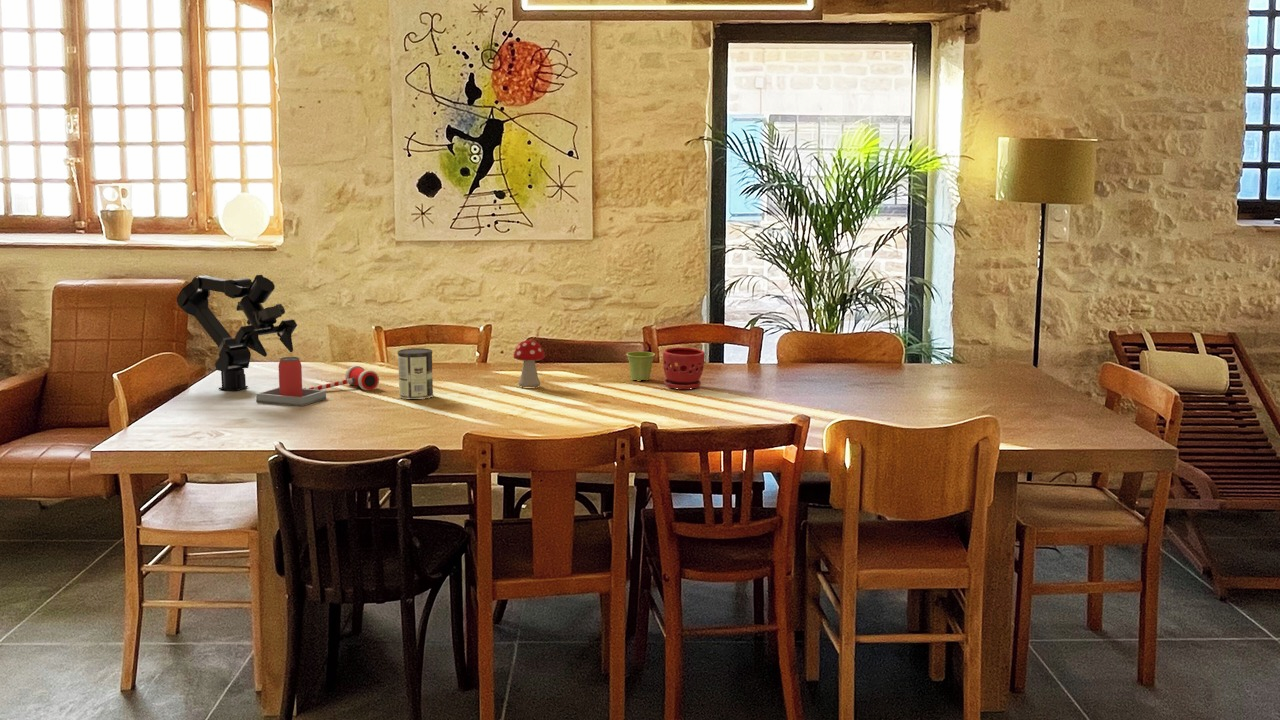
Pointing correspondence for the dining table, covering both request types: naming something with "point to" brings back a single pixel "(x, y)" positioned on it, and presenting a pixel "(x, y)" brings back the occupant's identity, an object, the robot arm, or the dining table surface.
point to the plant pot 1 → (640, 365)
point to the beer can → (290, 377)
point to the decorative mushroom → (529, 362)
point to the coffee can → (415, 373)
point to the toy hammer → (355, 379)
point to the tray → (291, 397)
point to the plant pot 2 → (683, 367)
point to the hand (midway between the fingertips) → (279, 353)
